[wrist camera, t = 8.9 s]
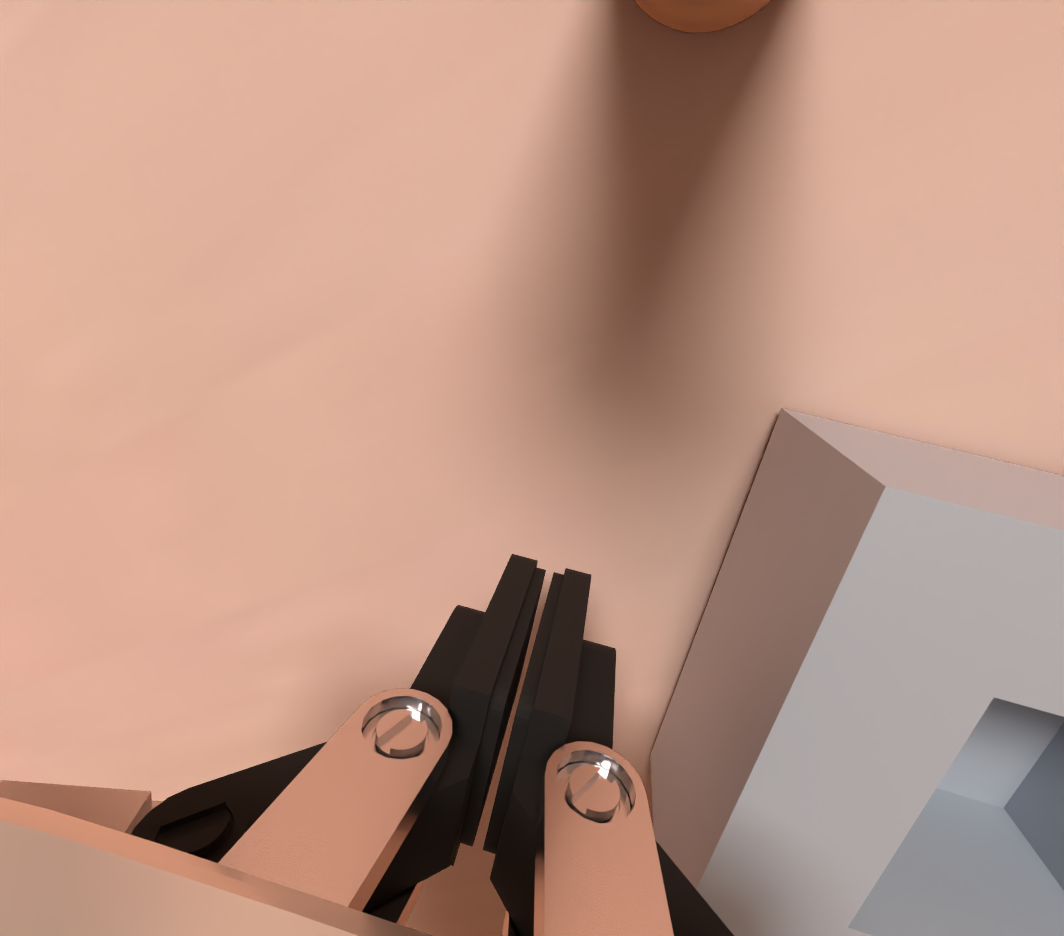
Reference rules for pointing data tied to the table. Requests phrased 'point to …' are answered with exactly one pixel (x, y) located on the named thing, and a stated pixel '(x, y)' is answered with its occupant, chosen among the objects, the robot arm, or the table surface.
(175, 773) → the table surface
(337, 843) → the robot arm
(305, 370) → the table surface
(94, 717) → the table surface
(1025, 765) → the socket block
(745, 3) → the oak dowel
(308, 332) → the table surface
